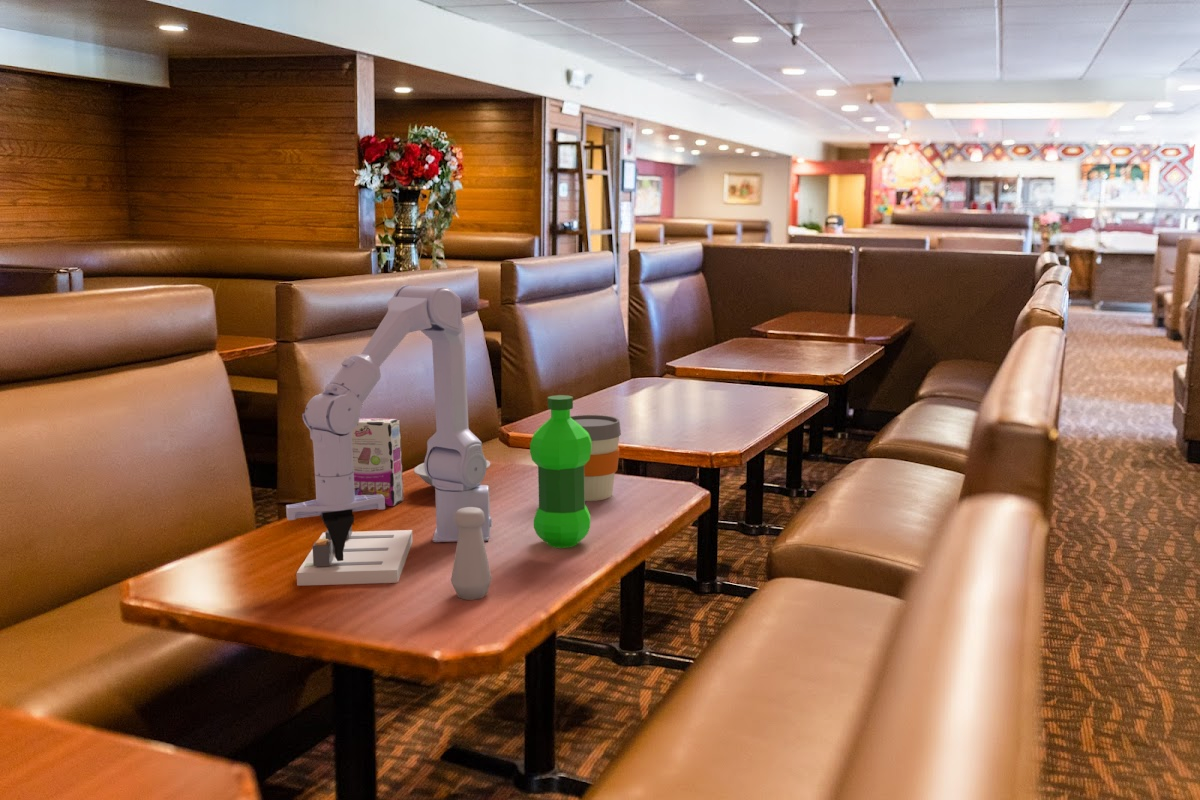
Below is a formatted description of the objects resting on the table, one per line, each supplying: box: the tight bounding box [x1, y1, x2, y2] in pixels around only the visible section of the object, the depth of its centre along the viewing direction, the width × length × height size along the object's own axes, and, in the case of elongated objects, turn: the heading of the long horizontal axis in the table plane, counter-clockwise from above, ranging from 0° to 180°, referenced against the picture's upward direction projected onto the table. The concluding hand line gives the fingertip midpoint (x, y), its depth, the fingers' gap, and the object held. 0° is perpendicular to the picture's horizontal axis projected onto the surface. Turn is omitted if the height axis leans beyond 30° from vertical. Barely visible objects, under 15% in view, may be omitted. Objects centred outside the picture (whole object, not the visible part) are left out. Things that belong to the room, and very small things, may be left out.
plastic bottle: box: [529, 394, 592, 549], centre depth 179 cm, size 10×10×25 cm
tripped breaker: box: [312, 538, 333, 566], centre depth 165 cm, size 2×3×4 cm
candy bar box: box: [351, 417, 404, 507], centre depth 207 cm, size 11×5×16 cm, turn 77°
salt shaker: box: [450, 507, 492, 601], centre depth 156 cm, size 6×6×13 cm
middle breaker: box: [325, 530, 345, 552], centre depth 172 cm, size 2×3×3 cm
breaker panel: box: [296, 529, 414, 586], centre depth 172 cm, size 15×21×2 cm
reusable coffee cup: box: [570, 414, 622, 502], centre depth 211 cm, size 13×13×15 cm
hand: (339, 559), depth 165 cm, fingers closed
